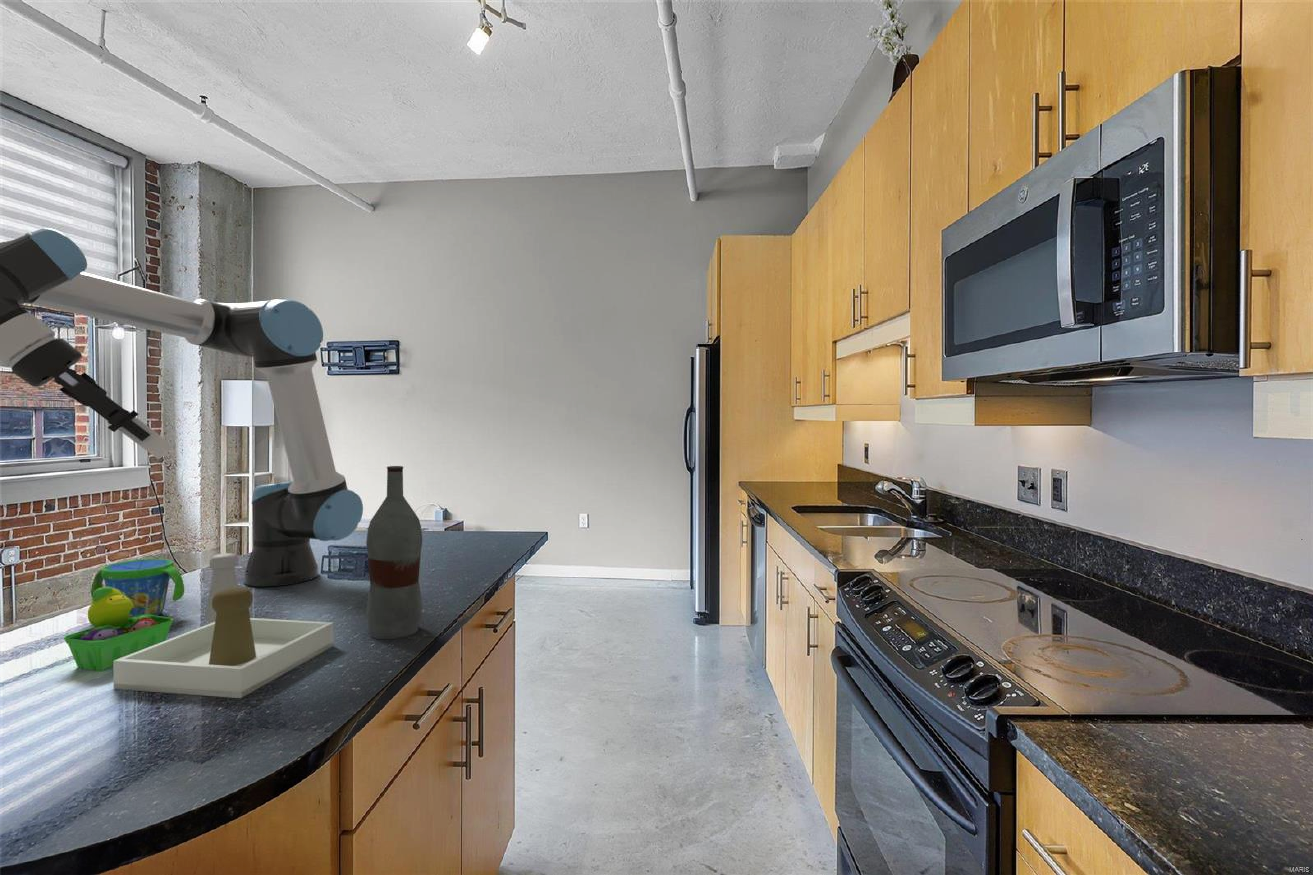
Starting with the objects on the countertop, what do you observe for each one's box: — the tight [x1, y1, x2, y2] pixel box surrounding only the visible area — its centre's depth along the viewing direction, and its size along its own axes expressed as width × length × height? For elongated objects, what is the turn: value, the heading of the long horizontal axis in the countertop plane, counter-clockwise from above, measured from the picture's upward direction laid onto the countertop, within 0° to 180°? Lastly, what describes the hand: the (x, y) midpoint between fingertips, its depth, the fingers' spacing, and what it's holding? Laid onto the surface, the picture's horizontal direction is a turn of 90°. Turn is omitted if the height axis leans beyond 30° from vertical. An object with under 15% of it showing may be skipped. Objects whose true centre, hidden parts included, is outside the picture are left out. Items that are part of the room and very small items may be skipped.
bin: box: [112, 617, 335, 699], centre depth 94 cm, size 20×20×4 cm
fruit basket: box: [63, 586, 174, 672], centre depth 96 cm, size 11×9×11 cm
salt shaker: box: [204, 552, 239, 624], centre depth 112 cm, size 6×6×13 cm
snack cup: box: [90, 558, 185, 618], centre depth 116 cm, size 16×10×10 cm
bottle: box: [365, 465, 423, 640], centre depth 109 cm, size 9×9×30 cm
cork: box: [209, 586, 256, 666], centre depth 94 cm, size 6×6×11 cm
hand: (165, 451), depth 100 cm, fingers open, 13 cm apart
